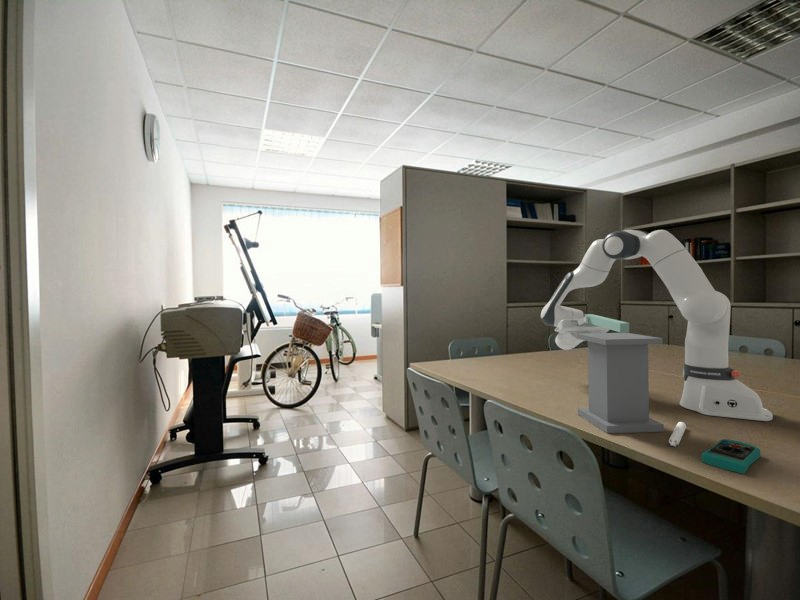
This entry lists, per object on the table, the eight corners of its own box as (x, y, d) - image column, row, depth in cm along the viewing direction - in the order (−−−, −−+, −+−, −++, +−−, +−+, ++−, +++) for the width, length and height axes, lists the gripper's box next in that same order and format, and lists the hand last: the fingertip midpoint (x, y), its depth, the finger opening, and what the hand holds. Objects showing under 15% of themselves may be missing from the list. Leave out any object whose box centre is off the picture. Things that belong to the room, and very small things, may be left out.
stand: (577, 414, 118) (576, 333, 118) (627, 413, 118) (625, 332, 118) (606, 433, 102) (605, 339, 102) (663, 431, 102) (662, 338, 102)
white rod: (677, 450, 91) (677, 440, 91) (667, 447, 93) (667, 438, 93) (686, 429, 104) (686, 421, 104) (677, 428, 106) (677, 420, 106)
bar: (584, 322, 144) (584, 314, 144) (592, 321, 144) (592, 314, 144) (620, 332, 121) (620, 323, 121) (629, 332, 121) (629, 323, 121)
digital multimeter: (761, 458, 86) (761, 445, 86) (744, 476, 78) (743, 463, 78) (721, 448, 92) (721, 436, 92) (700, 464, 84) (700, 451, 84)
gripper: (551, 324, 154) (564, 311, 141) (600, 323, 154) (617, 309, 141) (554, 338, 151) (568, 326, 139) (604, 337, 151) (622, 325, 139)
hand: (593, 318), depth 140 cm, fingers closed on bar, 3 cm apart
